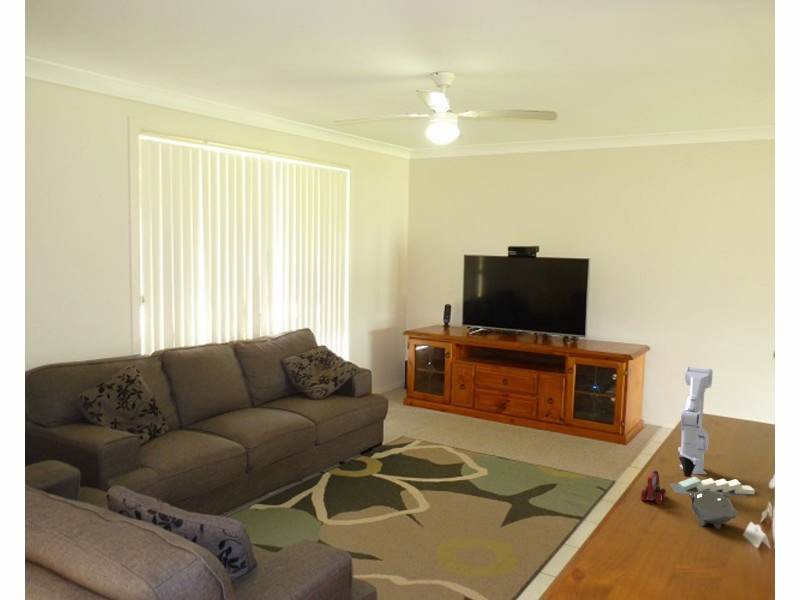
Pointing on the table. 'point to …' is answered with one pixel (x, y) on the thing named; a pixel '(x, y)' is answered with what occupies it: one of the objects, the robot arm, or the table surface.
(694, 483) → the pale green tile
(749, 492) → the tile
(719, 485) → the tile
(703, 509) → the piggy bank
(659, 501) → the toy fire truck
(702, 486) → the tile
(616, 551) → the table surface
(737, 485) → the tile
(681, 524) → the table surface
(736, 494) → the runner mat
